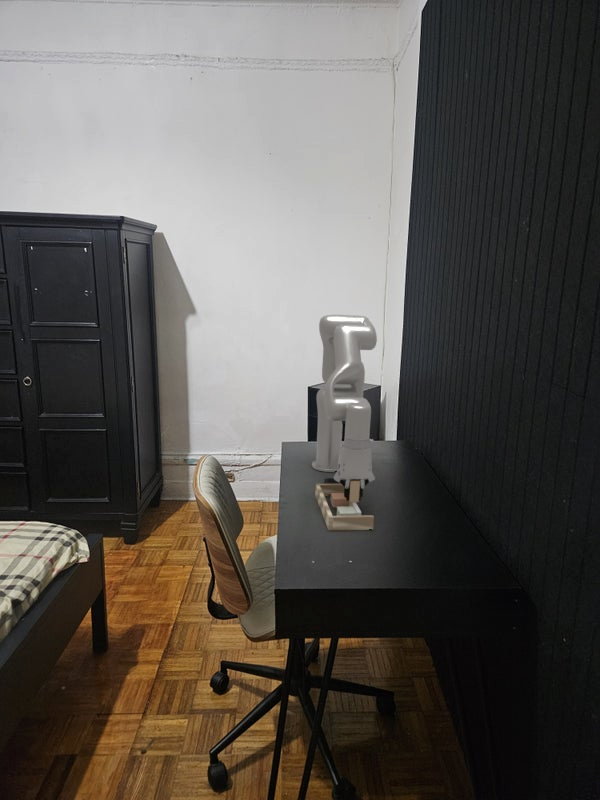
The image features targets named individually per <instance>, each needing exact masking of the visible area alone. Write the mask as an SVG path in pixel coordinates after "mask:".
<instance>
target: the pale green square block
mask: <svg viewBox="0 0 600 800" xmlns="http://www.w3.org/2000/svg"><path fill="white" fill-rule="evenodd" d="M356 514H357V513H356V511H355V509H354V508H353V506H347V507H336V516H354V515H356Z"/></svg>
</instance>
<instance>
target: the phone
mask: <svg viewBox="0 0 600 800" xmlns="http://www.w3.org/2000/svg"><path fill="white" fill-rule="evenodd" d="M343 480H344V479H343ZM323 482H324V483H323V484H341V483H340V482H337V481H336V480H334V478H324V481H323ZM330 496H331V494H329V496H328V497H330Z"/></svg>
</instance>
